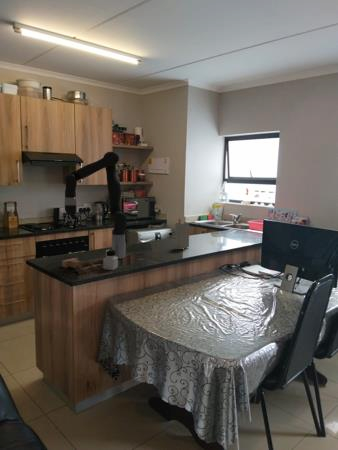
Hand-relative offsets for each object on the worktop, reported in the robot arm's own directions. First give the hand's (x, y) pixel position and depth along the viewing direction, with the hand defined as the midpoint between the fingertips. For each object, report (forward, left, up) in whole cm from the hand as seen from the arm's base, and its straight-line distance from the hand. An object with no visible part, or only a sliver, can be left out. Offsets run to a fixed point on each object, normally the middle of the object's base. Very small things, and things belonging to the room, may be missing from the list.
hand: (70, 228), depth 240 cm
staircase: (-87, +31, -23) cm, 95 cm away
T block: (+7, +11, -23) cm, 26 cm away
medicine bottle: (-6, +32, -23) cm, 40 cm away
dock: (+7, +25, -23) cm, 34 cm away
